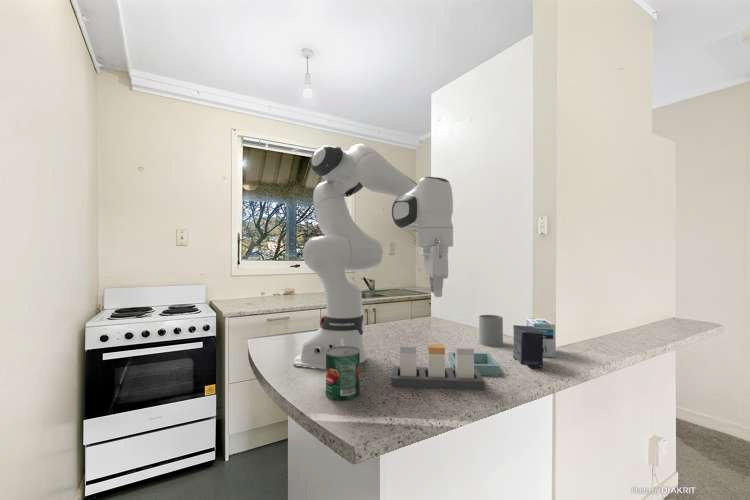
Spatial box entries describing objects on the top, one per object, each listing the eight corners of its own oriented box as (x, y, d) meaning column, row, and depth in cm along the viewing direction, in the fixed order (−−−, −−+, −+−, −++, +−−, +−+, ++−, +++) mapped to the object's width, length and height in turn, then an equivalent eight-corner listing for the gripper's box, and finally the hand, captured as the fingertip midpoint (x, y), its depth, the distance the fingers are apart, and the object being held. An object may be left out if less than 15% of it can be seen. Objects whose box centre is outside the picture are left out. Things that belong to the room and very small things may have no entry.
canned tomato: (318, 399, 79) (318, 351, 79) (342, 388, 85) (342, 344, 85) (343, 409, 74) (342, 357, 74) (367, 397, 80) (366, 349, 80)
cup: (476, 344, 126) (475, 317, 126) (483, 339, 133) (482, 314, 133) (499, 348, 121) (499, 319, 121) (505, 343, 128) (505, 316, 128)
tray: (453, 377, 92) (453, 364, 92) (448, 363, 104) (448, 351, 104) (499, 379, 91) (499, 365, 91) (489, 364, 103) (489, 353, 103)
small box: (544, 369, 99) (544, 332, 99) (520, 368, 100) (520, 332, 100) (533, 358, 109) (533, 325, 109) (512, 357, 110) (512, 324, 111)
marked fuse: (428, 383, 85) (428, 347, 85) (427, 378, 89) (427, 343, 89) (444, 384, 85) (444, 348, 85) (443, 378, 89) (443, 343, 89)
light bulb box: (556, 357, 110) (556, 324, 110) (533, 356, 111) (533, 323, 111) (546, 348, 120) (546, 318, 120) (526, 347, 122) (525, 317, 122)
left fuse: (400, 382, 86) (400, 346, 86) (400, 377, 90) (400, 342, 90) (416, 383, 85) (416, 347, 86) (416, 377, 89) (416, 343, 90)
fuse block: (391, 390, 84) (391, 378, 84) (393, 377, 93) (393, 366, 93) (484, 394, 81) (484, 381, 81) (477, 380, 90) (477, 368, 90)
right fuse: (457, 385, 84) (457, 348, 84) (455, 379, 88) (455, 344, 88) (474, 385, 84) (473, 348, 84) (471, 379, 88) (471, 344, 88)
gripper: (454, 237, 77) (455, 299, 77) (443, 241, 97) (443, 290, 97) (426, 238, 77) (426, 299, 77) (420, 241, 98) (420, 290, 97)
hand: (435, 294), depth 87 cm, fingers open, 8 cm apart
